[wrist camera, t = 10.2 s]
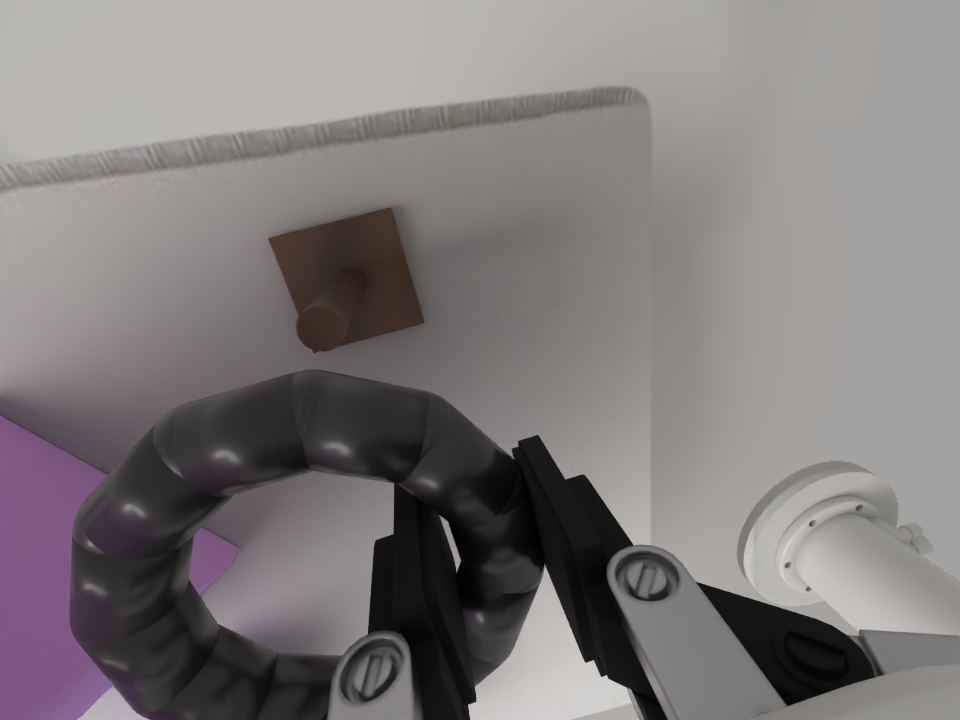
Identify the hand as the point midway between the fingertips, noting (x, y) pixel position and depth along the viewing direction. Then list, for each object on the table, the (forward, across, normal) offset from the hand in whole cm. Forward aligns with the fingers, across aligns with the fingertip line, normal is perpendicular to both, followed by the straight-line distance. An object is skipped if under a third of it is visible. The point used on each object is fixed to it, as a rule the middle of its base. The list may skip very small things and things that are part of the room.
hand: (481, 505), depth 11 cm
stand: (+23, +4, -4) cm, 23 cm away
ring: (-1, +4, 0) cm, 4 cm away
